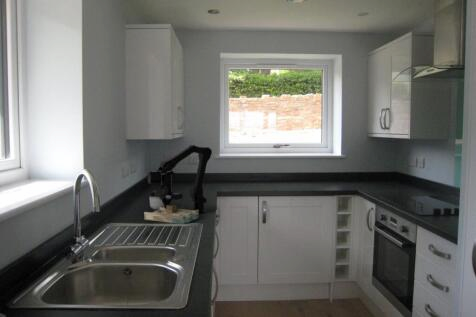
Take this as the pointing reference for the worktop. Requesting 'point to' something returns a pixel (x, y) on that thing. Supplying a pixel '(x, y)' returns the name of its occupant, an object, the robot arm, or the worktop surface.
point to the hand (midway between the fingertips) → (166, 209)
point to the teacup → (156, 202)
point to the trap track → (172, 215)
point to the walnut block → (170, 208)
